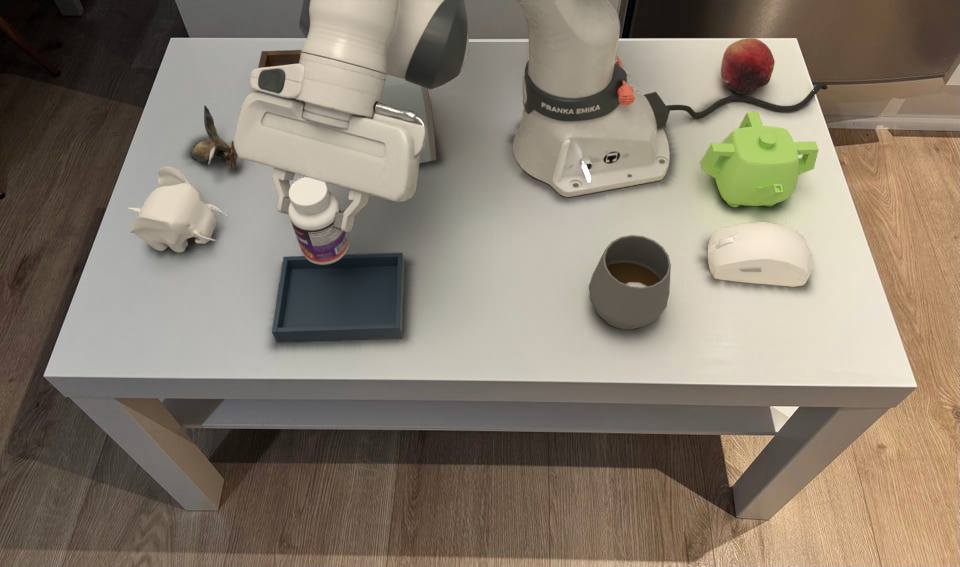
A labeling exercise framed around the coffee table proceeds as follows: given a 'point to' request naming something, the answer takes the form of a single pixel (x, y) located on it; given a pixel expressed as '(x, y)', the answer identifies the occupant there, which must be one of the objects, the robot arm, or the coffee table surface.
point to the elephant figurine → (174, 214)
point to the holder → (279, 58)
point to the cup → (631, 282)
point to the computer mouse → (760, 255)
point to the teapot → (758, 163)
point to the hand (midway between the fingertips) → (313, 221)
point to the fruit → (747, 65)
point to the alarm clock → (412, 108)
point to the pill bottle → (316, 221)
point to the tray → (340, 298)
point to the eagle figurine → (213, 145)
